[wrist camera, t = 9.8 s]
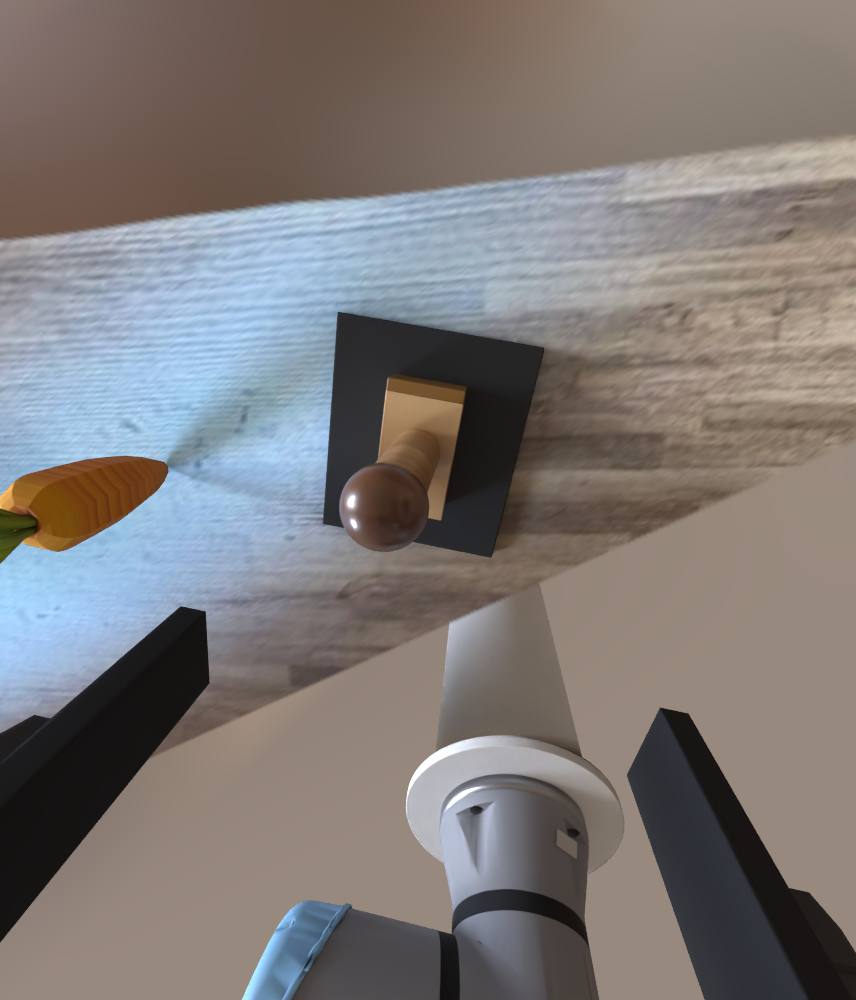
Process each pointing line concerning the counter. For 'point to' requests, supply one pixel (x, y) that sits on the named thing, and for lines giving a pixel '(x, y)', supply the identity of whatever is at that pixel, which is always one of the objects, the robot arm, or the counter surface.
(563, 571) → the counter surface
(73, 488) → the carrot
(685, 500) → the counter surface
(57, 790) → the robot arm
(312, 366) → the counter surface
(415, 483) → the stamp
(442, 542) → the mat
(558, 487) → the counter surface
